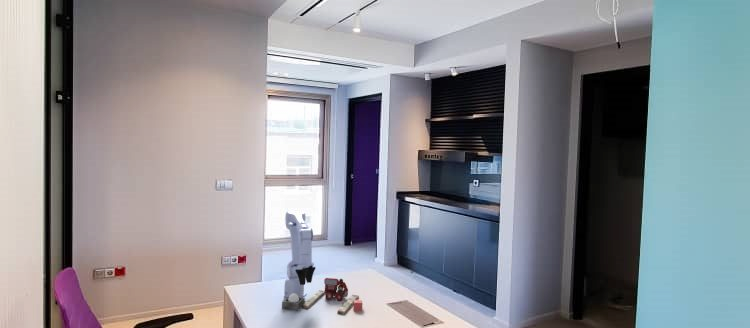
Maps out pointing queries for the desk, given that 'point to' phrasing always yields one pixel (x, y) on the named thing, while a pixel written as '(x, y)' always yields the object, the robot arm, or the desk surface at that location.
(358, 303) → the red die
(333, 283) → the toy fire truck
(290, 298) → the dome button
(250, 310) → the desk surface
